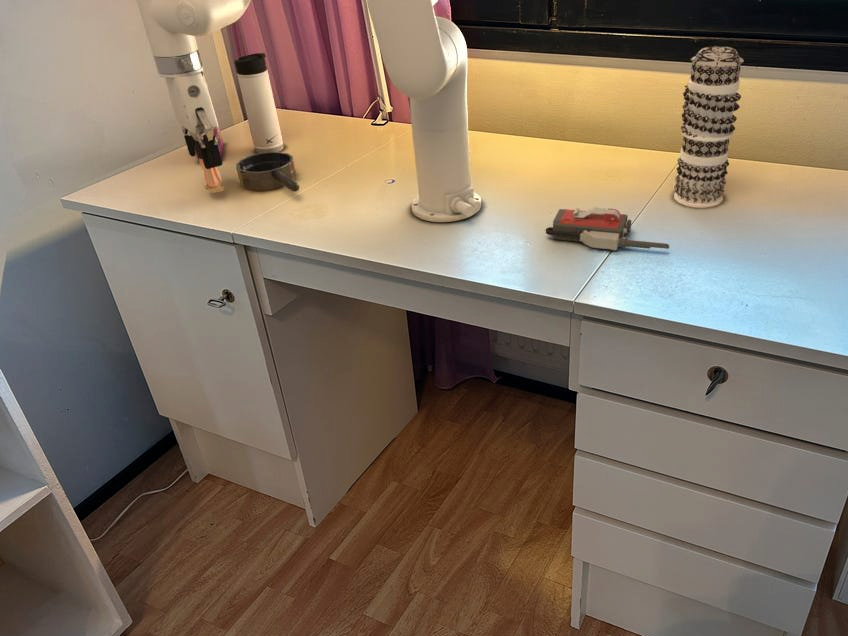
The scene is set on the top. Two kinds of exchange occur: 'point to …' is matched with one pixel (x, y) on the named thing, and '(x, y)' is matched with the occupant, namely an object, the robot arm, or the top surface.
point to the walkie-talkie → (596, 229)
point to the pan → (264, 170)
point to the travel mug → (259, 103)
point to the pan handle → (286, 180)
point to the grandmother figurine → (210, 174)
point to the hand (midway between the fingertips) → (206, 160)
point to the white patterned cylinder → (707, 126)
